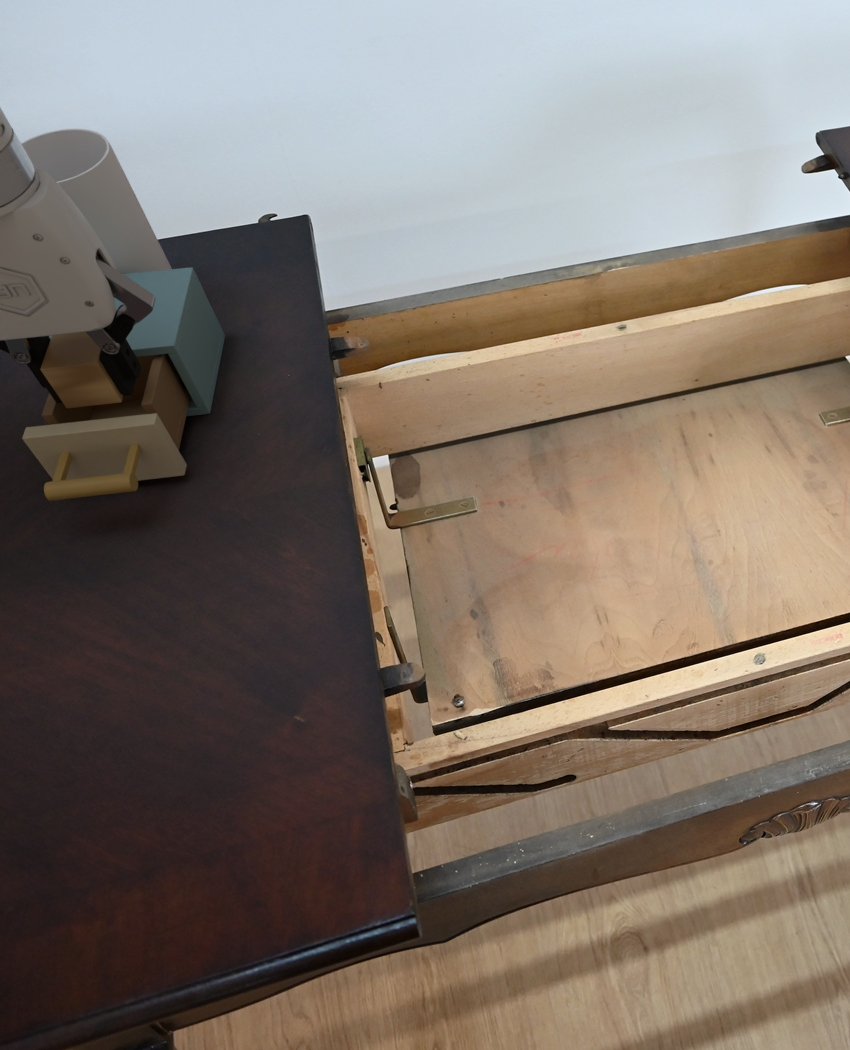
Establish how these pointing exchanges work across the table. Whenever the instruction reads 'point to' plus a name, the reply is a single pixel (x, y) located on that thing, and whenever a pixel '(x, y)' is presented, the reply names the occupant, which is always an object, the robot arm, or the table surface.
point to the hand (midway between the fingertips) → (97, 384)
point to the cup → (100, 195)
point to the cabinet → (180, 331)
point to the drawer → (114, 437)
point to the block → (78, 371)
